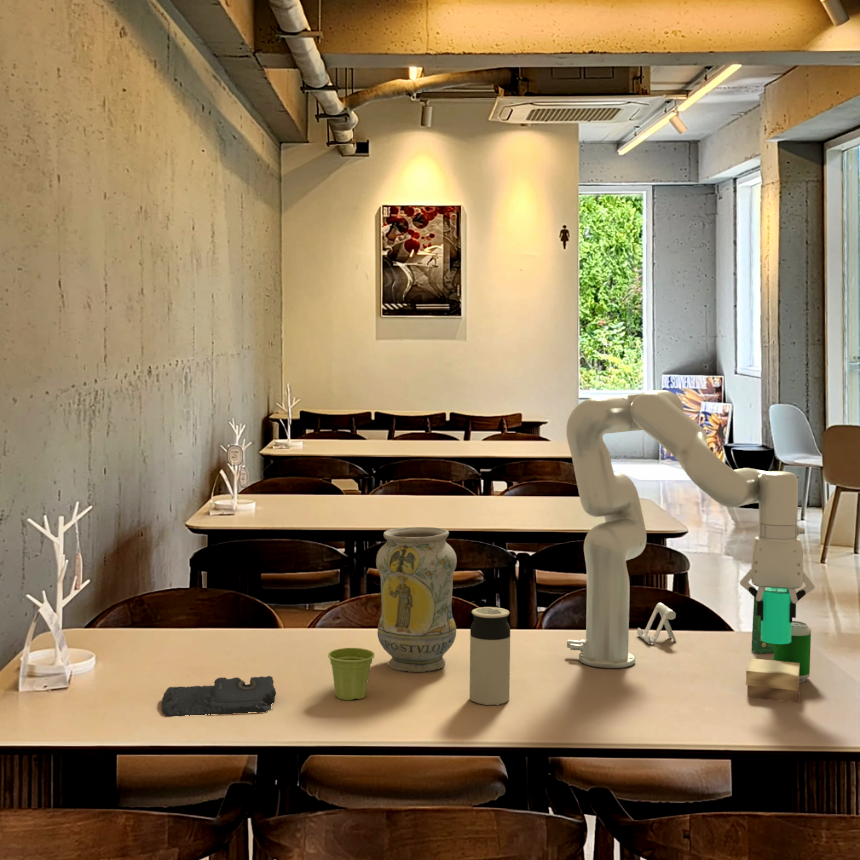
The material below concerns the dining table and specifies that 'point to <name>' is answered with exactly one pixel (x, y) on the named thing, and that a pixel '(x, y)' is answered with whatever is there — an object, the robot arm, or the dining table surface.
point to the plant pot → (350, 672)
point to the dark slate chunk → (220, 697)
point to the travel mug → (490, 656)
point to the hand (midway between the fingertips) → (776, 619)
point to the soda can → (796, 649)
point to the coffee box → (759, 635)
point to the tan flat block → (773, 693)
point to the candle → (776, 616)
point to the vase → (416, 597)
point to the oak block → (773, 674)
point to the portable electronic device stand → (665, 615)
